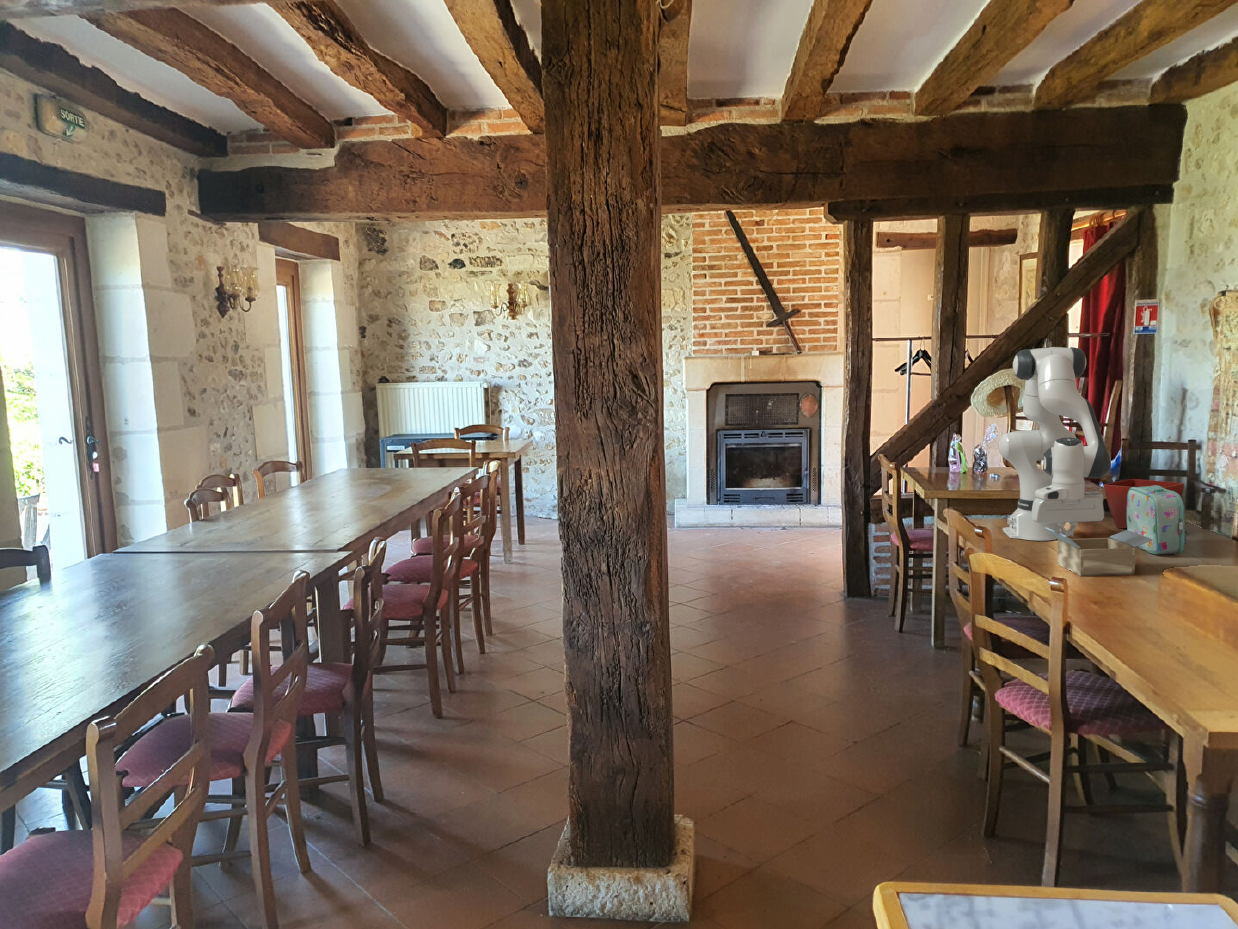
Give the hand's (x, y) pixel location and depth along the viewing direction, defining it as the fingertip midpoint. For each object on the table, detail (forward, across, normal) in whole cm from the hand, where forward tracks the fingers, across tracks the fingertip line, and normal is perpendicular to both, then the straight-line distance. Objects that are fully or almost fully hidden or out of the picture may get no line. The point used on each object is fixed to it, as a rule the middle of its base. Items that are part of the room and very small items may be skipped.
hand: (1067, 536), depth 253 cm
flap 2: (+2, -16, 0) cm, 16 cm away
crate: (+11, -8, 0) cm, 13 cm away
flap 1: (+2, -1, 0) cm, 3 cm away
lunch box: (+11, -40, -23) cm, 47 cm away
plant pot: (+11, -54, -56) cm, 79 cm away
